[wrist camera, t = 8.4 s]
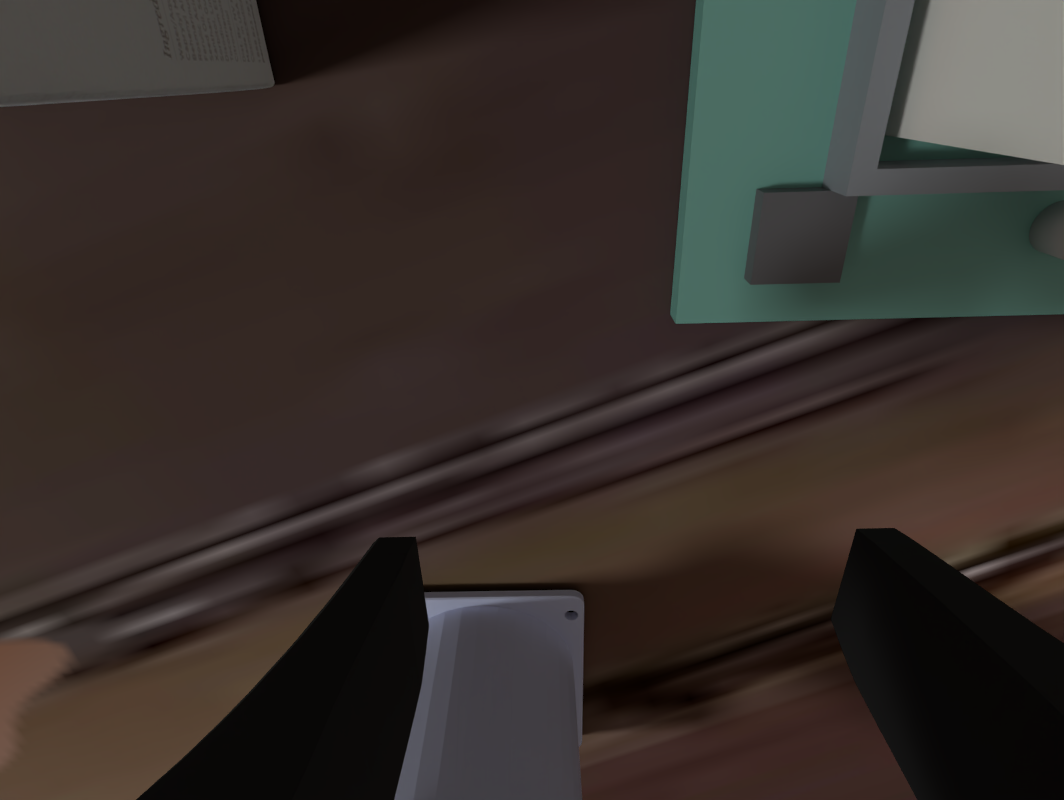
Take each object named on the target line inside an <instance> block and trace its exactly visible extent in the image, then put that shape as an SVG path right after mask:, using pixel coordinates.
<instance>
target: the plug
mask: <svg viewBox="0 0 1064 800" xmlns="http://www.w3.org/2000/svg"><path fill="white" fill-rule="evenodd" d="M885 135H887V136H893V137H899V138H905V139H911V140H917V141H923V142H929V143H935V144H941V145H947V146H953V147H959V148H965V149H971V150H977V151H983V152H989V153H995V154H1001V155H1007V156H1013V157H1019V158H1025V159H1031V160H1037V161H1043V162H1049V163H1054V164H1060V165H1064V0H915V2H914V7H913V11H912V16H911V20H910V24H909V29H908V33H907V38H906V42H905V47H904V51H903V56H902V60H901V65H900V69H899V73H898V78H897V82H896V87H895V91H894V96H893V100H892V105H891V109H890V114H889V118H888V123H887V127H886V131H885Z"/></svg>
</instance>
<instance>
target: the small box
mask: <svg viewBox="0 0 1064 800" xmlns="http://www.w3.org/2000/svg"><path fill="white" fill-rule="evenodd" d="M274 83H275V82H274V78H273V74H272V70H271V65H270V61H269V57H268V52H267V47H266V43H265V39H264V34H263V29H262V25H261V20H260V16H259V11H258V7H257V2H256V0H0V107H5V106H23V105H38V104H53V103H67V102H82V101H97V100H112V99H128V98H143V97H158V96H173V95H189V94H202V93H216V92H229V91H242V90H253V89H263V88H270V87H273V86H274Z"/></svg>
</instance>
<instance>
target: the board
mask: <svg viewBox="0 0 1064 800" xmlns="http://www.w3.org/2000/svg"><path fill="white" fill-rule="evenodd" d="M914 2H915V0H696V10H695V22H694V34H693V46H692V58H691V70H690V82H689V94H688V106H687V119H686V131H685V143H684V155H683V167H682V179H681V191H680V203H679V215H678V228H677V240H676V252H675V264H674V276H673V288H672V300H671V312H670V314H671V316H672V318H673V320H674V322H675V323H676V324H683V323H724V322H765V321H805V320H846V319H887V318H927V317H968V316H1009V315H1049V314H1064V165H1060V164H1054V163H1049V162H1043V161H1037V160H1031V159H1025V158H1019V157H1013V156H1007V155H1001V154H995V153H989V152H983V151H977V150H971V149H965V148H959V147H953V146H947V145H941V144H935V143H929V142H923V141H917V140H911V139H905V138H899V137H893V136H887V135H885V131H886V127H887V123H888V118H889V114H890V109H891V105H892V100H893V96H894V91H895V87H896V82H897V78H898V73H899V69H900V65H901V60H902V56H903V51H904V47H905V42H906V38H907V33H908V29H909V24H910V20H911V16H912V11H913V7H914Z"/></svg>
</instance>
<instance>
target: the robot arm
mask: <svg viewBox="0 0 1064 800" xmlns="http://www.w3.org/2000/svg"><path fill="white" fill-rule="evenodd" d="M567 611H575V612H567ZM831 621H832V623H833V626H834V629H835V632H836V634H837V637H838V640H839V643H840V645H841V648H842V651H843V654H844V656H845V659H846V661H847V664H848V666H849V668H850V671H851V673H852V676H853V678H854V681H855V683H856V685H857V687H858V689H859V691H860V693H861V695H862V696H863V698H864V700H865V702H866V704H867V706H868V708H869V710H870V712H871V714H872V716H873V717H874V719H875V721H876V723H877V725H878V727H879V729H880V731H881V733H882V734H883V736H884V738H885V740H886V742H887V744H888V746H889V748H890V749H891V751H892V753H893V755H894V757H895V759H896V761H897V762H898V764H899V766H900V768H901V770H902V772H903V774H904V776H905V777H906V779H907V781H908V783H909V785H910V787H911V789H912V790H913V792H914V794H915V796H916V798H917V800H1064V643H1062V642H1061V641H1059V640H1058V639H1056V638H1055V637H1053V636H1052V635H1050V634H1049V633H1047V632H1046V631H1044V630H1043V629H1041V628H1040V627H1038V626H1037V625H1035V624H1034V623H1032V622H1031V621H1029V620H1028V619H1027V618H1025V617H1024V616H1022V615H1021V614H1019V613H1018V612H1016V611H1015V610H1013V609H1012V608H1010V607H1009V606H1008V605H1006V604H1005V603H1003V602H1002V601H1000V600H999V599H997V598H996V597H995V596H993V595H992V594H990V593H989V592H987V591H986V590H984V589H983V588H982V587H980V586H979V585H977V584H976V583H974V582H973V581H972V580H970V579H969V578H967V577H966V576H964V575H963V574H962V573H960V572H959V571H957V570H956V569H954V568H953V567H952V566H950V565H949V564H947V563H946V562H944V561H943V560H942V559H940V558H939V557H937V556H936V555H934V554H933V553H931V552H930V551H929V550H927V549H926V548H924V547H923V546H921V545H920V544H918V543H917V542H915V541H914V540H912V539H911V538H909V537H908V536H906V535H905V534H903V533H901V532H900V531H898V530H897V529H895V528H874V529H856V532H855V536H854V539H853V543H852V546H851V550H850V553H849V557H848V560H847V564H846V567H845V571H844V575H843V578H842V582H841V585H840V589H839V592H838V596H837V599H836V603H835V606H834V610H833V613H832V617H831ZM583 654H584V598H583V595H582V594H581V593H580V592H578V591H576V590H526V591H466V592H424V588H423V581H422V575H421V568H420V562H419V555H418V548H417V542H416V537H385V538H378V539H377V540H376V541H375V542H374V543H373V544H372V546H371V547H370V548H369V550H368V551H367V552H366V554H365V555H364V556H363V558H362V559H361V560H360V562H359V563H358V564H357V565H356V567H355V568H354V569H353V571H352V572H351V573H350V575H349V576H348V577H347V579H346V580H345V581H344V582H343V584H342V585H341V586H340V588H339V589H338V590H337V591H336V593H335V594H334V595H333V596H332V598H331V599H330V600H329V601H328V603H327V604H326V605H325V606H324V608H323V609H322V610H321V611H320V612H319V614H318V615H317V616H316V617H315V618H314V620H313V621H312V622H311V623H310V624H309V626H308V627H307V628H306V629H305V630H304V632H303V633H302V634H301V635H300V636H299V638H298V639H297V640H296V641H295V642H294V643H293V645H292V646H291V647H290V648H289V649H288V650H287V651H286V653H285V654H284V655H283V656H282V657H281V658H280V659H279V660H278V661H277V662H276V664H275V665H274V666H273V667H272V668H271V669H270V670H269V671H268V672H267V673H266V675H265V676H264V677H263V678H262V679H261V680H260V681H259V682H258V683H257V684H256V685H255V687H254V688H253V689H252V690H251V691H250V692H249V693H248V694H247V695H246V696H245V697H244V698H243V699H242V700H241V701H240V702H239V703H238V704H237V706H236V707H235V708H234V709H233V710H232V711H231V712H230V713H229V714H228V715H227V716H226V717H225V718H224V719H223V720H222V721H221V722H220V723H219V724H218V725H217V726H216V727H215V728H214V729H213V730H212V731H211V732H209V733H208V734H207V735H206V736H205V737H204V738H203V739H202V740H201V741H200V742H199V743H198V744H197V745H196V746H195V747H194V748H193V749H192V750H191V751H190V752H189V753H188V754H187V755H185V756H184V757H183V758H182V759H181V760H180V761H179V762H178V763H177V764H176V765H175V766H173V767H172V768H171V769H170V770H169V771H168V772H167V773H166V774H164V775H163V776H162V777H161V778H160V779H159V780H158V781H157V782H155V783H154V784H153V785H152V786H151V787H150V788H149V789H148V790H147V791H145V792H144V793H143V794H142V795H141V796H140V797H139V798H138V799H136V800H582V790H581V774H580V759H579V746H580V745H581V744H582V715H583Z"/></svg>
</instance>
